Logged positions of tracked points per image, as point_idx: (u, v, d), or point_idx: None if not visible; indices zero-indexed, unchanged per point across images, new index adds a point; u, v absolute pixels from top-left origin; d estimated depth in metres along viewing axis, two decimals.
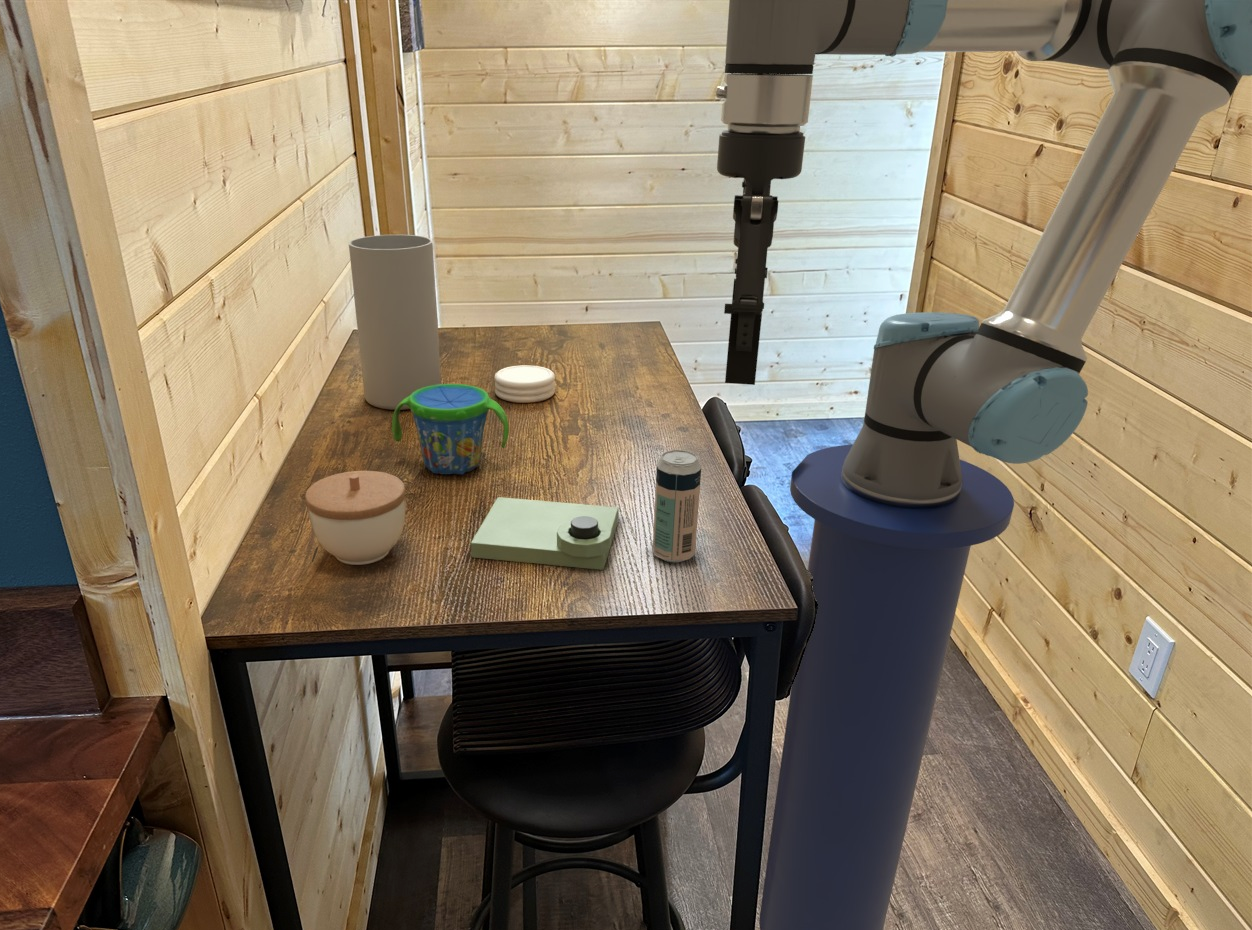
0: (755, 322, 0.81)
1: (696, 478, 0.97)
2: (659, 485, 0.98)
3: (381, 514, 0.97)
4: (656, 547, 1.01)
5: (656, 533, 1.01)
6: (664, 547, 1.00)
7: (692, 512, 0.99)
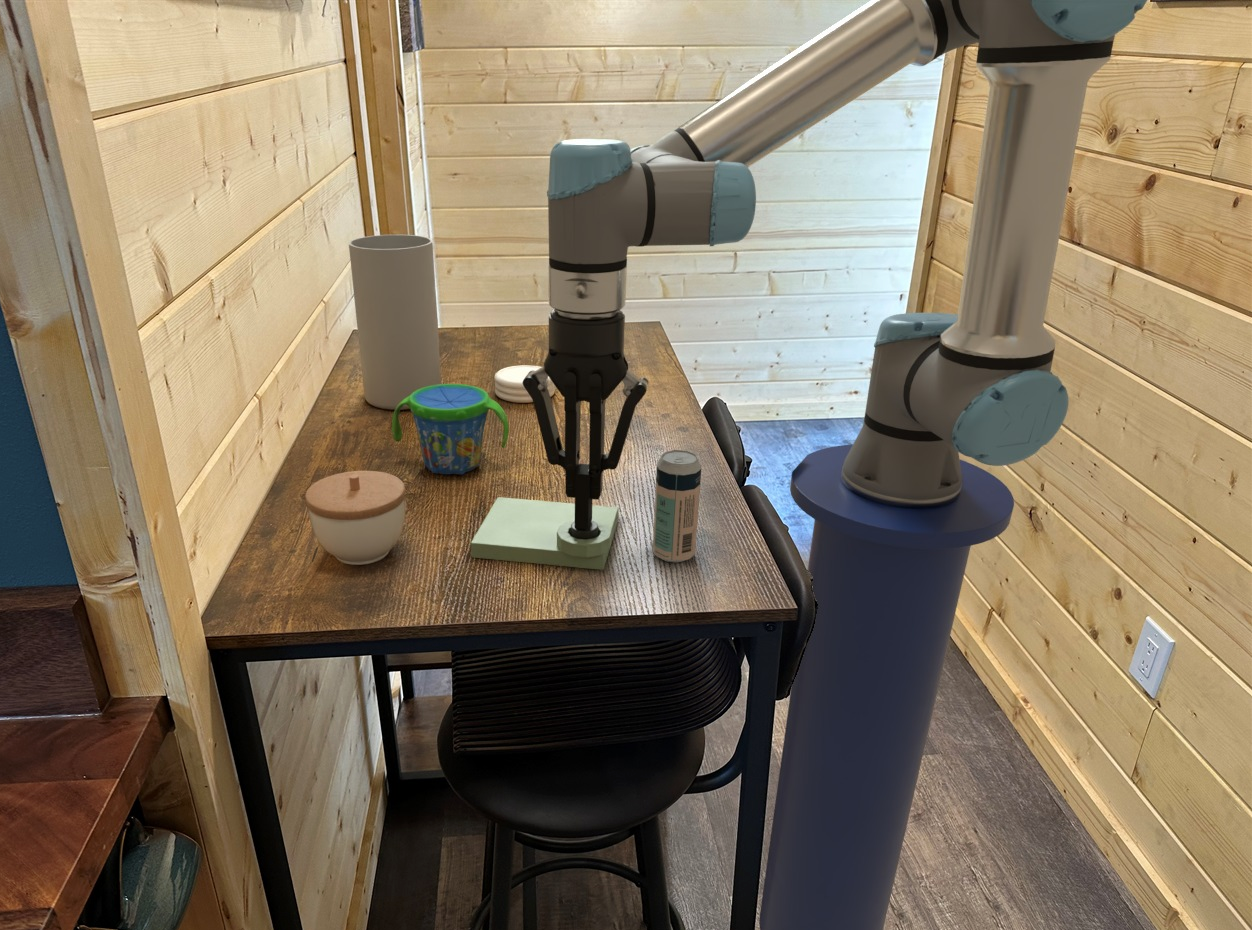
0: None
1: (696, 478, 0.97)
2: (659, 485, 0.98)
3: (381, 514, 0.97)
4: (656, 547, 1.01)
5: (656, 533, 1.01)
6: (664, 547, 1.00)
7: (692, 512, 0.99)
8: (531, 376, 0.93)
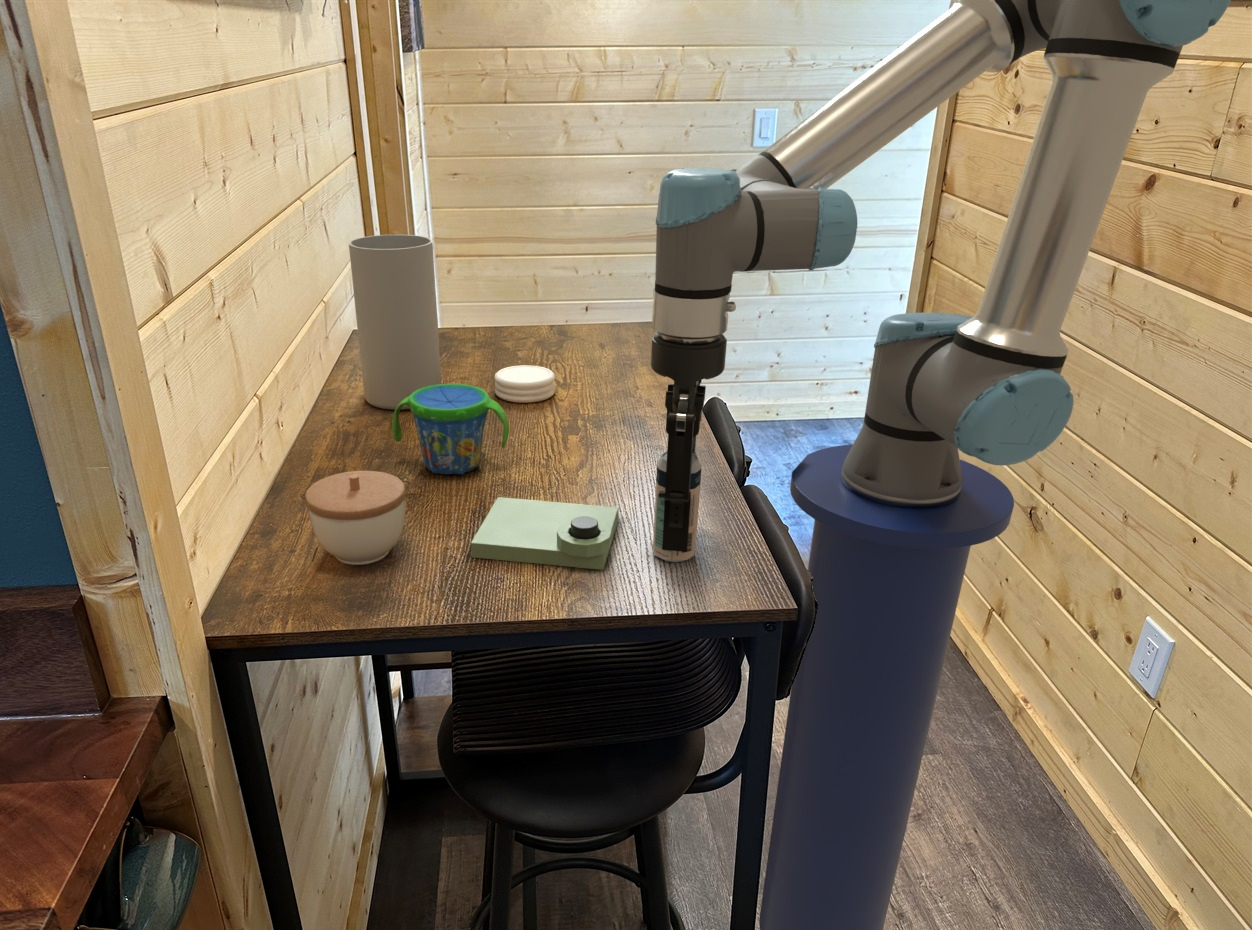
0: None
1: (696, 478, 0.97)
2: (659, 485, 0.98)
3: (381, 514, 0.97)
4: (656, 547, 1.01)
5: (656, 533, 1.01)
6: None
7: (692, 512, 0.99)
8: (688, 412, 0.89)
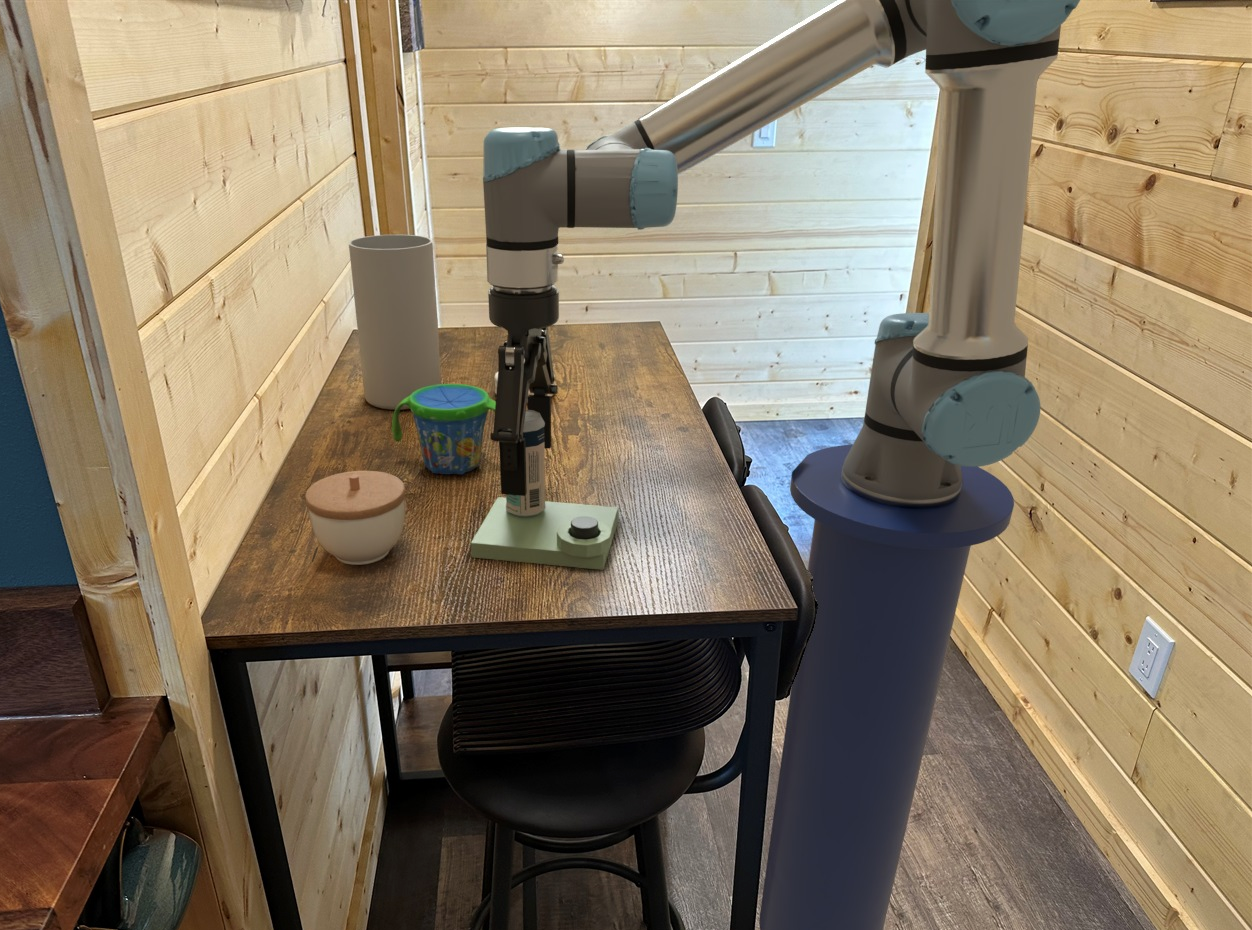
0: None
1: (538, 436, 1.03)
2: None
3: (381, 514, 0.97)
4: (507, 502, 1.07)
5: None
6: (513, 502, 1.06)
7: (537, 468, 1.04)
8: None
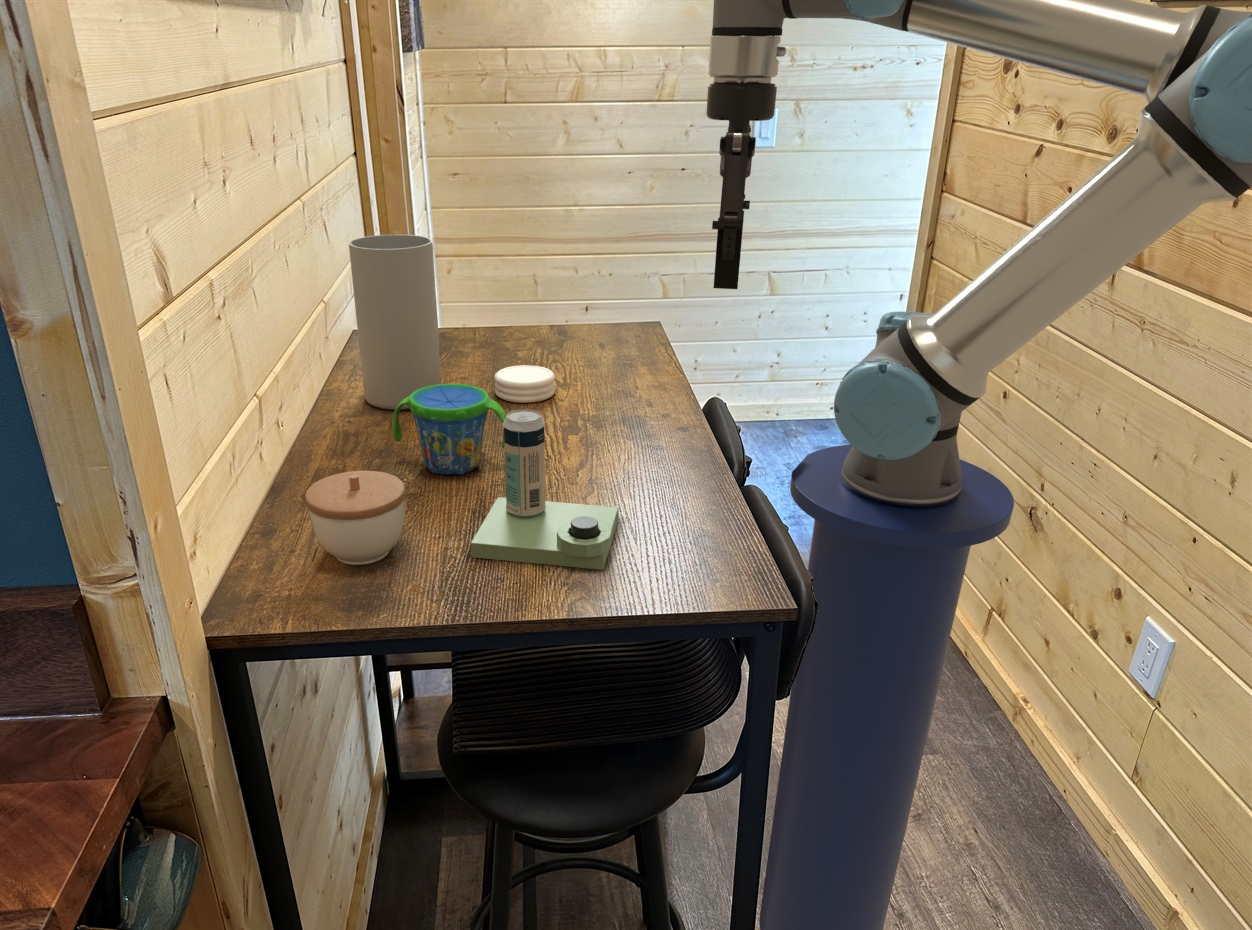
0: None
1: (538, 436, 1.03)
2: (505, 442, 1.04)
3: (381, 514, 0.97)
4: (507, 502, 1.07)
5: (506, 489, 1.06)
6: (513, 502, 1.06)
7: (537, 468, 1.04)
8: None
